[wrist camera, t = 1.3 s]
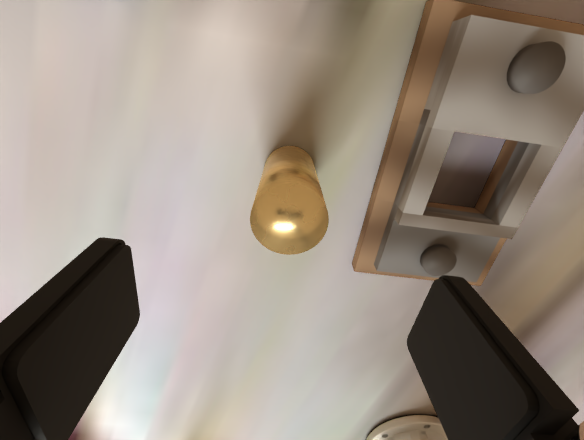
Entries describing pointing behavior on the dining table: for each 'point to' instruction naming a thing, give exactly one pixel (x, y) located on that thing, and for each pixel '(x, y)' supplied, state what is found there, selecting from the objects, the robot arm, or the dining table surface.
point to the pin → (289, 203)
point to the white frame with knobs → (473, 120)
